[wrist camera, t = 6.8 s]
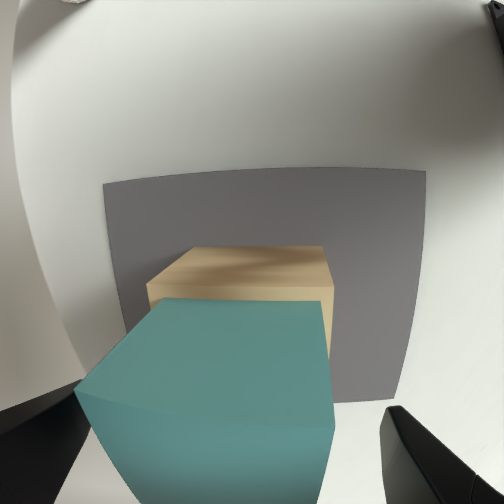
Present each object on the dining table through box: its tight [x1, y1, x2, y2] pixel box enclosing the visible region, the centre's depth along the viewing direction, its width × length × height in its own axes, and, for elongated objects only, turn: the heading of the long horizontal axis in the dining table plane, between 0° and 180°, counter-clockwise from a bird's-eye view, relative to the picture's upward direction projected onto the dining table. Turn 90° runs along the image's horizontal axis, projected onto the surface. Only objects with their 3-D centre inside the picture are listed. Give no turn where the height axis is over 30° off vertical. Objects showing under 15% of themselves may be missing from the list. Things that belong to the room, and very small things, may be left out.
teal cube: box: [74, 297, 335, 504], centre depth 7 cm, size 5×5×5 cm
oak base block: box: [146, 246, 334, 359], centre depth 12 cm, size 6×6×5 cm
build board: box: [103, 167, 426, 403], centre depth 15 cm, size 16×13×1 cm
